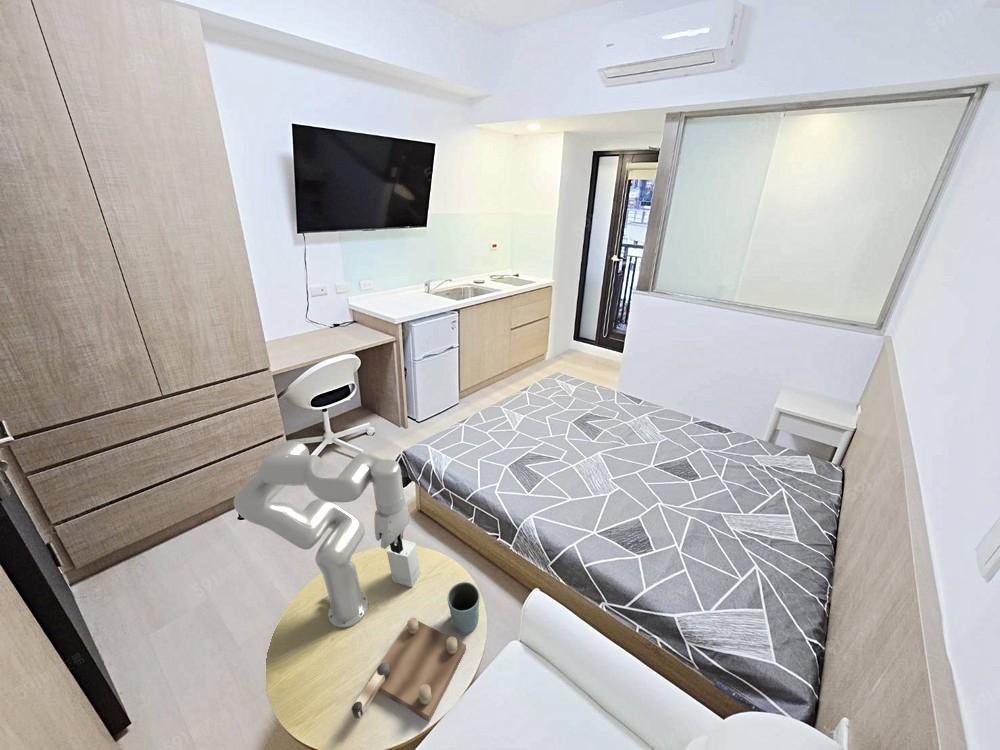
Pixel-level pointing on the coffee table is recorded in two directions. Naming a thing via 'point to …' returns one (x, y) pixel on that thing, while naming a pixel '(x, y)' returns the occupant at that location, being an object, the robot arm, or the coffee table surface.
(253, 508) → the robot arm
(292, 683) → the coffee table surface
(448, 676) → the stool seat
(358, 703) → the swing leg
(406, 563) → the skincare box
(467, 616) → the teal cup
